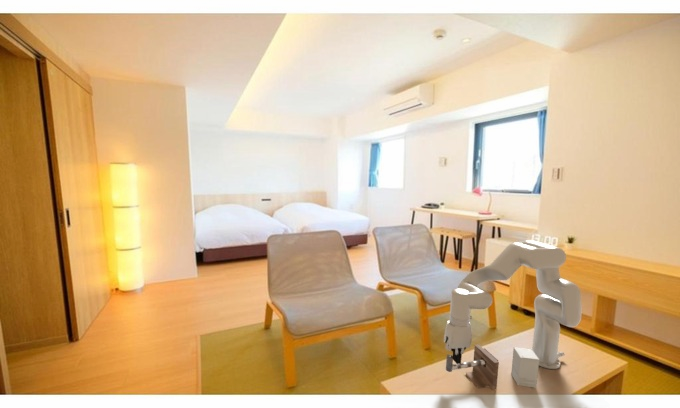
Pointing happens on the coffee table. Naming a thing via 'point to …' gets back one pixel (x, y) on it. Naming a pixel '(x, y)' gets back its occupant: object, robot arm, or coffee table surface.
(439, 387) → the coffee table surface
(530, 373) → the supplement box
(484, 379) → the bracket
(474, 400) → the coffee table surface
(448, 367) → the shaft
